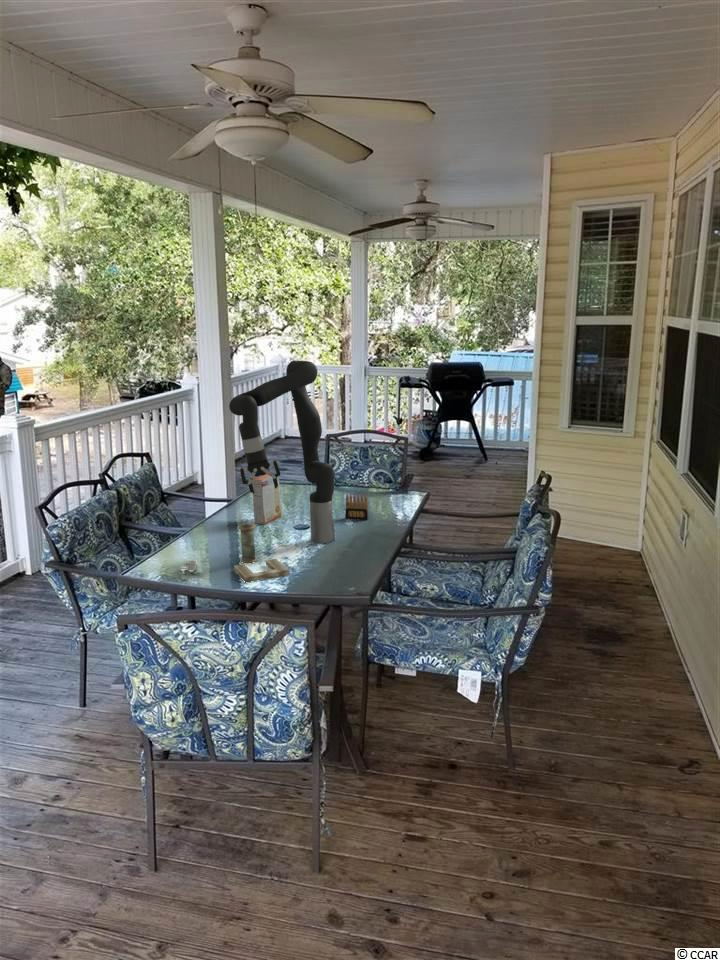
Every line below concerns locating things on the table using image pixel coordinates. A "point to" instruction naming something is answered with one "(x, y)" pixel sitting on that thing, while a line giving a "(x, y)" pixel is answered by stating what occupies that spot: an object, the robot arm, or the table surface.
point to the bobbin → (247, 543)
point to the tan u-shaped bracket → (272, 564)
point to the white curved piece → (190, 565)
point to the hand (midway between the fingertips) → (264, 490)
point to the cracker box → (266, 499)
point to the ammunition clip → (354, 512)
